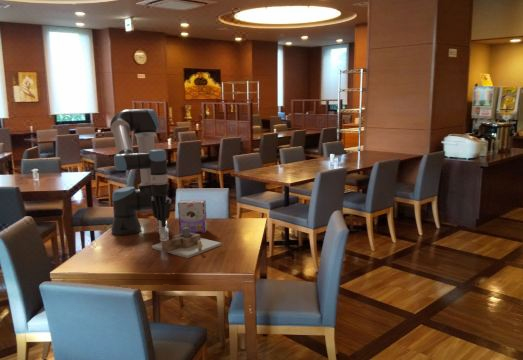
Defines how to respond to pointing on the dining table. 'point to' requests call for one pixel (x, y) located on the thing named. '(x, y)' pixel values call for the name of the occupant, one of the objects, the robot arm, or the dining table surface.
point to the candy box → (192, 215)
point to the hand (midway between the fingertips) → (162, 233)
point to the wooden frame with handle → (180, 242)
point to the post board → (192, 250)
